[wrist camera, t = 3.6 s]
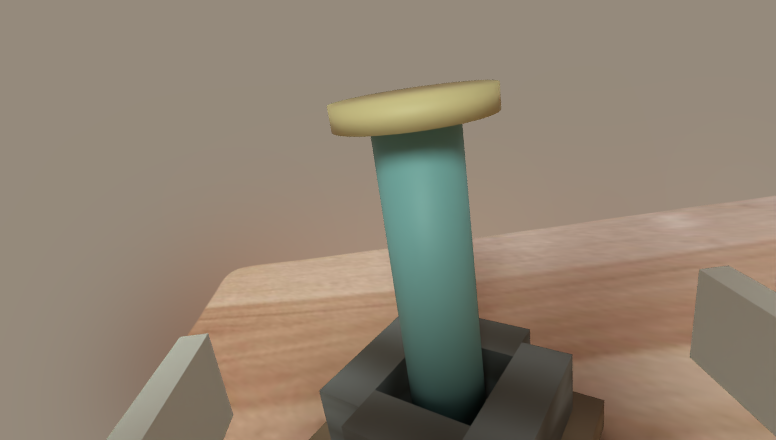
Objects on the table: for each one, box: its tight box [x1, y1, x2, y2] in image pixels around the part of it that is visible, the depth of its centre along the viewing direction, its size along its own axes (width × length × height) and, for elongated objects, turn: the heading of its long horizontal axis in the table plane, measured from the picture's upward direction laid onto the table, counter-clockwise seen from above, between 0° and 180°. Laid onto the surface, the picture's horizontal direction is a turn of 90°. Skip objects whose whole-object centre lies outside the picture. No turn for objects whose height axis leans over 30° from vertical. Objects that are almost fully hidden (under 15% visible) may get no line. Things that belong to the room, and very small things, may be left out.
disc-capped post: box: [327, 80, 501, 426], centre depth 24 cm, size 8×8×20 cm
